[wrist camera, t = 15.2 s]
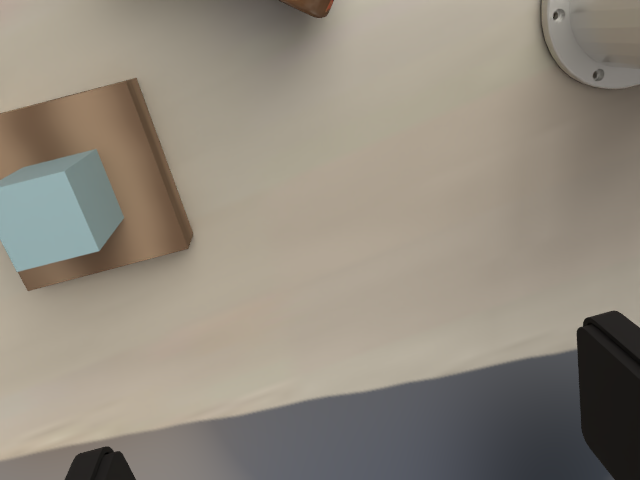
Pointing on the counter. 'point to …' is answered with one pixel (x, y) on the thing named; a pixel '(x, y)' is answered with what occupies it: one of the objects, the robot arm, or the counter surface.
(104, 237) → the block
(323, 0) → the wooden speaker
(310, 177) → the counter surface
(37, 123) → the base
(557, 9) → the robot arm
